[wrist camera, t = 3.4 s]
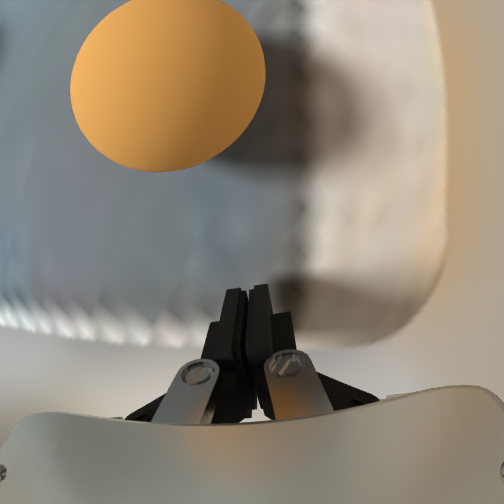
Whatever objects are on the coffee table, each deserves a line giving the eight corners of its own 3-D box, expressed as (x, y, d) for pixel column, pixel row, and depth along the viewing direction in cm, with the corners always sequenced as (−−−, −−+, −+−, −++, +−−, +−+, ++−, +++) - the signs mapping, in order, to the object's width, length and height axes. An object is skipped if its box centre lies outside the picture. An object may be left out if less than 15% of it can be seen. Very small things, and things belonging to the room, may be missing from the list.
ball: (116, 57, 9) (31, 17, 4) (249, 20, 9) (240, -67, 3) (136, 180, 11) (47, 212, 6) (276, 150, 11) (294, 149, 5)
